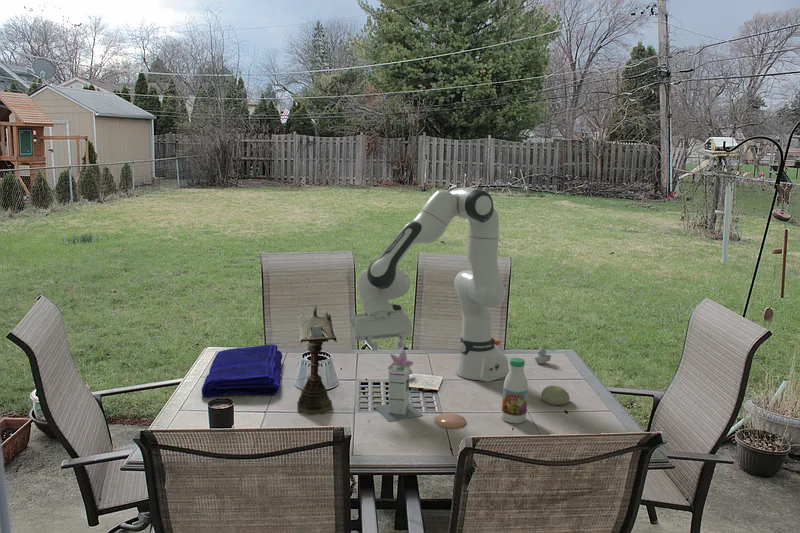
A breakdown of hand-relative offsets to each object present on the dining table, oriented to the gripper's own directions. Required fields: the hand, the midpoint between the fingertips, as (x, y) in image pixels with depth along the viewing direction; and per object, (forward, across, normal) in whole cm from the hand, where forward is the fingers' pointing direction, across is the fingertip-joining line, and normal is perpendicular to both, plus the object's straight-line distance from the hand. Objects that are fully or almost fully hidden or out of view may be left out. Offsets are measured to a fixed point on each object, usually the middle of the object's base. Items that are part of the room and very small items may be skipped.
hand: (388, 348), depth 213 cm
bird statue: (+12, -24, +15) cm, 31 cm away
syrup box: (+19, 0, +7) cm, 21 cm away
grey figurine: (+4, +74, +22) cm, 78 cm away
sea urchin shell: (+28, +54, -1) cm, 61 cm away
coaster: (+28, +12, -2) cm, 31 cm away
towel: (-13, -40, +41) cm, 58 cm away
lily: (-1, +14, +28) cm, 31 cm away
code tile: (+19, 0, +7) cm, 21 cm away
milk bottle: (+33, +32, -6) cm, 46 cm away
